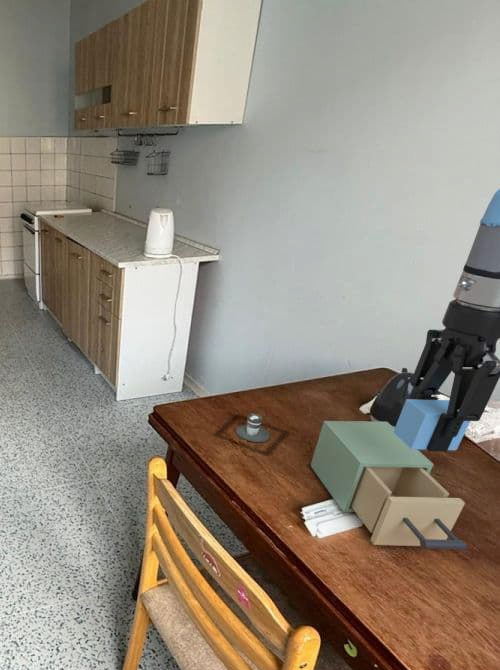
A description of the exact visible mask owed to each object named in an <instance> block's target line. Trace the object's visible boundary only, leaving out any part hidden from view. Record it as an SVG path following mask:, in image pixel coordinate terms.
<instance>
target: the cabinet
mask: <svg viewBox="0 0 500 670" xmlns="http://www.w3.org/2000/svg"><path fill="white" fill-rule="evenodd" d="M393 432H394V428H393V427H392V426H391V425H390V424H389V423H388V422H372V421H371V420H370V421H365V420H363V421H361V420H357V421H356V420H323V423H322V426H321V430H320V433H319V436H318V439H317V443H316V446H315V450H314V453H313V456H312V458H311V459H312V460H311V463H310V467H311V469H312V470H313V471H314V473H315V474H316V475H317V477H318V478H319V480H320V481H321V483H322V484H323V486H324V488H326V490H327V491H328V493H329V494H330V495H331V497H332V498H333V500H334V502H336V504H337V505H338V507H339V508H340V509H341V511H342V512H343V513H356V512H355V511H354V509H353V508H352V507H351V505H350V504H351V501H352V498H353V495H354V493H355V490H356V487H357V484H358V482H359V479H360V476H361V473H362V471H363V468H364V467H411V468H423V469H424V470H425V471H426V472H427V473H428V474H429V475H431V471H432V469H433V467H434V466H435V464H434V463H433V462H432V461H431V460H430V459H429V458H427V457H426V455H424V454H423V453H422V452H421V451H420V449H410V448H409V447H408V446H407V445H406V444H405V443H404V442H403V441H402V440H401V439H400V438H399V437H398V436H397V435H396V434H394V433H393Z"/></svg>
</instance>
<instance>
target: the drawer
mask: <svg viewBox="0 0 500 670" xmlns="http://www.w3.org/2000/svg"><path fill="white" fill-rule="evenodd" d="M449 496H450V492H448V491H447V489H446V488H444V487H443V485H441V484H440V483H439V482H438V481H437V480H436V479H435V478H434V477H433V476H432V475H431V474H428V473H427V472H426V471H425V470H424V469H423V468H411V467H364V468H363V471H362V473H361V476H360V479H359V482H358V484H357V487H356V490H355V493H354V495H353V498H352V501H351V504H350V505H351V507H352V508H353V509H354V511H355V512H354V513H355V514H356V515H357V516H358V518H359V520H360V521H361V522H362V523H363V524H364V526H365V527H366V528H367V530H368V531H369V532H370V534H372V535H371V537H370V541H371V543H372V544H373V545H374V546H399V547H401V546H402V547H403V546H405V547H421V548H422V549H426V550H427V549H428V550H429V549H430V550H431V549H432V550H466V549H467V546H468V545H467V543H466V541H465V540H463V539H459V538H458V537H457V536H456V535H455V534H454V533H453V532H452V530H453V528H454V526H455V524H456V522H457V520H458V518H459V516H460V514H461V513H462V510H463V508H464V506H465V504H466V502H465V501H464V500H463V499H461V498H460V497H449ZM448 538H449V539H448Z"/></svg>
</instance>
